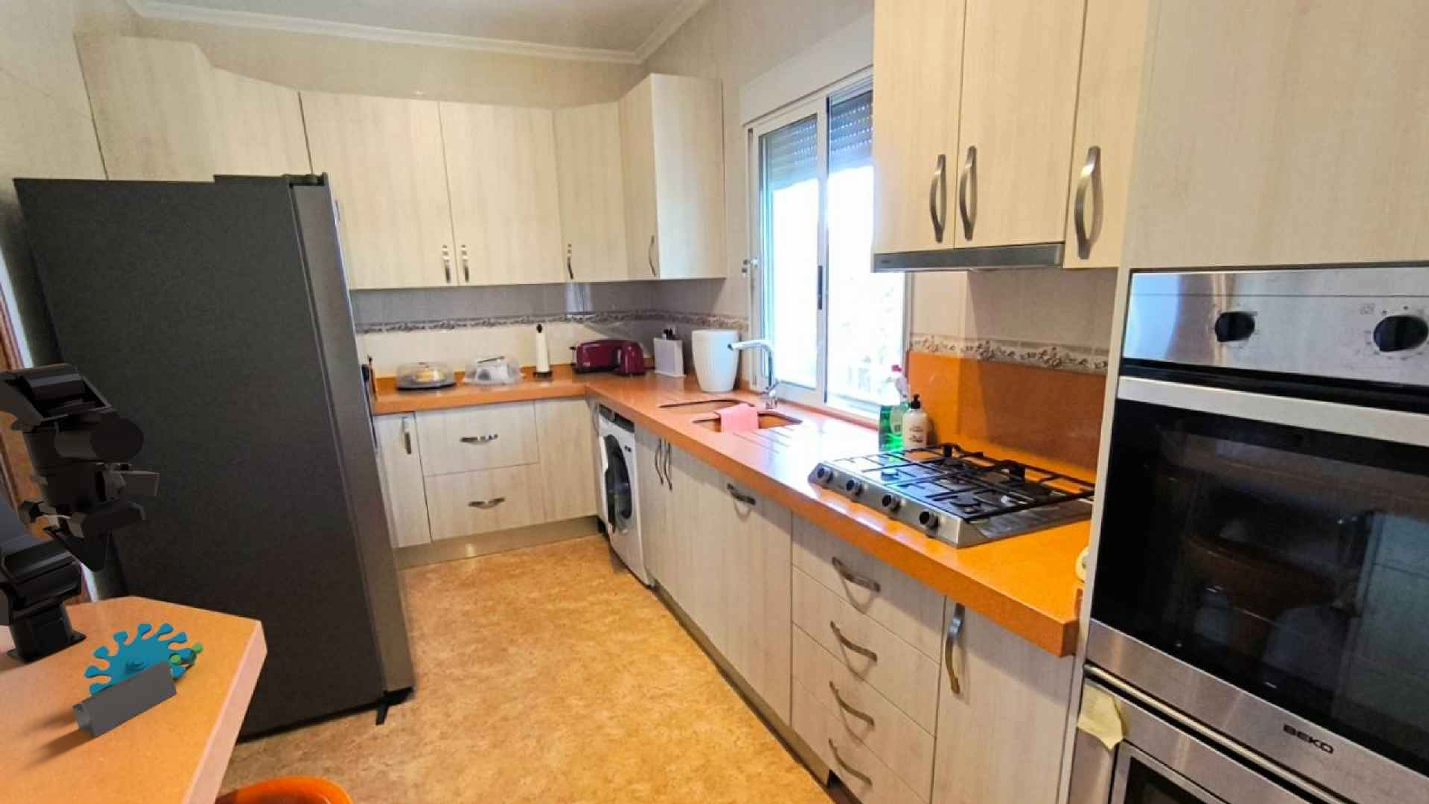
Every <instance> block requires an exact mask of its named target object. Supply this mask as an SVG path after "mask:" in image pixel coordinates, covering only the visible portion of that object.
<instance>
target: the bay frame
mask: <svg viewBox="0 0 1429 804" xmlns="http://www.w3.org/2000/svg"><path fill="white" fill-rule="evenodd" d="M173 678H174V677H173V675H172V670H171V669H170V667H169V664H168V662H166V661H162V662H160V663H158V664H156V665H154V666H152V667H150V668H148V669H146V670H143V671H141V672H139V673H137V674H135V675H133V676H131V677H129V678H127V679H125V680H123V681H121V682H119V683H117V684H115V685H113V686H111V687H109V688H107V689H105V690H103V691H101V692H99V693H97V694H95V695H93V696H92V695H91V696H88V697H87V698H85V699H83V700H81V701H80V703H79V702H78V703H76V704H73V705H72V706H71V708H72V711H73V713H74V718H75V721H76V724H77V727H78V729H79V730H81V731H82V732H85V733H86V734H88V735H90V736H92V737H93V738H98V737H100V736H102V735H105V733H107V732H109V731H111V730H113V729H114V728H117V727H119V726H120V725H121V724H124V723H125V722H128V721H129V720H132V719H134V717H137V716H139V715H140V714H143V713H145V712H146V711H148V710H149V709H152V708H154V707H156V706H157V705H159V704H161V703H163V702H164V701H166V700H168V699H170V698H172V697H173V696H176V695H178V692H177V689H176V685H175V682H174V679H173Z"/></svg>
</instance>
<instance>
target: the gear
mask: <svg viewBox="0 0 1429 804" xmlns="http://www.w3.org/2000/svg"><path fill="white" fill-rule="evenodd" d="M136 627H137V629H136V630H137V633H136V636H135V638H134V639H133V640H132V641H131V642H130V643H128V644H125V642H126V641H127V640H128V638H129V633H128V632H127V631H126V630H122V631H119V632H116V633H113V635H112V639H113V640H114V641H115V643H117V645H118V648H117V652H116V654H114V655H109V654H110V650H109V649H108V647H107V646H105V645H101V646H99V647H98V648H97V649H95V651H93V652H92V655H93V657H94V658H95V659H97V660H98V659H99V660H100V659H101V660H104V661H107V662H108V664H109V666H108V667H107V668H106V669H103V670H101V669H100V668H99V667H98V666H96V665H93V664H91V665H89V666H88V667H87V668H86V669H85V672H84V674H83V676H84V678H87V679H94V678H96V677H97V678H98V677H101V676H103V677H109V678H110V679H109V681H107V682H106V683H101V682H94V683H91V684H89V686H88V690H89V693H90V695H91V696H93V695H95V694H97V693H99V692H101V691H103V690H105V689H107V688H109V687H111V686H113V685H115V684H117V683H119V682H121V681H123V680H125V679H127V678H129V677H131V676H133V675H135V674H137V673H139V672H141V671H143V670H146V669H148V668H150V667H152V666H154V665H156V664H158V663H160V662H162V661H166V662H168V664H169V667H170V670H171V674H172V678H174V679H180V678H181V677H182V676H184V674H185V673H186V672H187V669H186V667H185V666H186V665H188V666H190V667H192V666H195V665H196V663H197V661H196V660H197V659H198V655H199V654H202V653H203V651H204V646H203V643H201V642H195V643H194V644H192V647H185V648H181V649H173V648H170V647H169V646H171V644H174V643H176V644H181V645H183V644H186V643H187V642H188V636H187V633H186V631H181V632H178V633H177V634H176V635H173V636H172V637H170V638H166V639H162V640H159V638H160V637H161V636H164V635H169V634H171V633H173V631H174V629H175V628H174V627H173V625H171V624H170V623H168V622H163V623H162V624H161V625H160V627H159V629H158V630H157V631H156V632H155V633H154V634H152V635H151V636H149V637H148V638H143V636H144V635H147V634H149V633H150V632H151V631H152V629H153V625H152V624H151V623H148V622H146V623H145V622H140V623H139V624H138V625H137V626H136Z"/></svg>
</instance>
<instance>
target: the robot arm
mask: <svg viewBox="0 0 1429 804" xmlns="http://www.w3.org/2000/svg"><path fill="white" fill-rule="evenodd" d="M0 412H2V413H6V414H8V415H12V416H14V417H15V418H16V420H15V421H13V422H12V423H11V425H10V427H9V428H10V430H11V431H14V432H18V431H19V432H20V431H21V433H22V434H21V435H22V437H23V440H24V443H25V447H26V450H27V453H28V455H29V460H30V463H31V465H32V468H33V472H32V473H28V475H27V476H28V477H29V480H30V482H31V483H35V484H36V483H37V485H38V489H39V492H40V494H41V495H40V496H36V497H33V498H32V497H31V498H29V499H25V500H23V502H22V503H21V504H19V506H18V507H17V509H16V510H17V512H16V511H15V510H14V508H13V506H12V505H11V504H10V503H9V501H8V500H7V498H6V497H5V495H4V494H3V493H2V492H1V491H0V626H3V627H8V630H9V632H10V636H11V638H12V641H13V645H14V648H11V649H9V650H7V651H6V652H5V653H6V655H7V657H10V658H12V659H14V660H17V661H19V662H20V663H22V664H29V663H32V662H35V661H37V660H39V659H42V658H44V657H46V656H48V655H51V654H53V653H56V652H58V651H60V650H63V649H65V648H67V647H70V646H72V645H74V644H77V643H79V642H81V641H83V640H85V639H87V635H86V634H85V633H82V632H80V631H77V630H75V629H74V628H73V625H72V622H71V618H70V615H69V612H68V610H67V605H66V604H65V601H67V600H71V599H73V598H75V597H78V596H81V595H82V593H83V592H82V590H83V589H82V581H83V579H82V576H83V575H82V574H83V573H82V567H81V566H80V564H79V562H80V563H81V564H82V565H83V566H85V568H87V569H88V570H89V571H90V572H92V573H97V572H100V571H103V570H104V569H105V567H106V559H107V551H108V542H109V537H110V532H112V531H115V530H118V529H121V528H124V527H128V526H130V525H135V524H138V523H140V522H143V521H144V520H146V514H145V510H144V506H143V505H141V504H139V503H136V502H133V501H130V500H125V499H120V496H119V495H145V496H146V497H147V496H151V497H152V496H156V495H157V491H158V486H159V485H158V483H159V479H160V473H159V472H152V471H145V470H144V471H143V470H134V468H133V466H132V463H131V464H130V463H124V462H127V461H129V460H132V459H133V458H134V457H136V456H137V455H139V453H140V451H141V450H142V448H143V446H144V442H145V438H144V436H145V435H144V432H143V430H142V429H140V426H138V425H137V423H135V422H133V421H132V420H130V419H127V418H125V417H124V418H123V417H120V414H119V411H118V409H117V408H113V406H112V405H111V404H110V403H109V402H108V397H107V396H106V395H104V393H102V392H101V391H100V390H98V389H97V388H96V387H95V385H93V384H92V382H90V380H89V379H88V377H86V375H84V374H83V373H82V372H81V371H78V370H77V367H76V366H74V365H72V364H70V363H67V362H65V363H55V364H49V365H42V366H41V365H39V366H33V367H27V368H19V369H18V368H16V369H11V370H4V369H3V370H2V369H0ZM107 463H108V464H110V465H108V464H107ZM39 517H45V518H47V519H48V523H49V525H48V526H45V527H43V528H42V530H41V531H42V532H43V533H46V534H47V535H48V536H49V537H50V538H51V539H50V540H45V539H43V538H40V537H36V536H35V535H34V534H33V533H32V532H31V531H30V530H29V528H28V527H27V525H26V524H28V525H30V524H34V523H37V518H39ZM76 559H77V560H78V561H77V560H76Z"/></svg>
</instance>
